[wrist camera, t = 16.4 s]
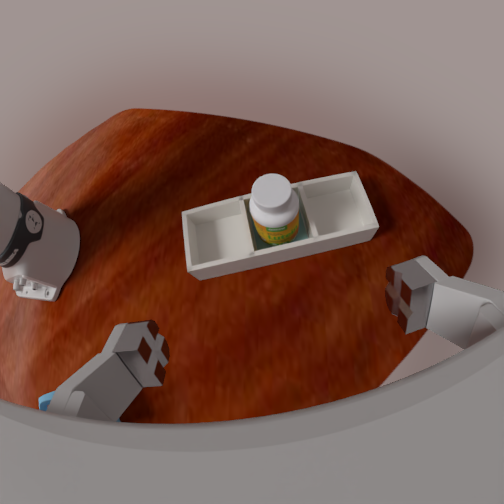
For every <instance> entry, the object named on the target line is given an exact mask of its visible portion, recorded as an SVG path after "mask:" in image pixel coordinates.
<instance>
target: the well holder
mask: <svg viewBox="0 0 504 504" xmlns="http://www.w3.org/2000/svg"><path fill="white" fill-rule="evenodd" d="M291 188H292V189H293V190H294V191H295V193H296V194H297V197H298V200H299V230H298V234H297V236H296V238H295V239H294V241H292V242H291V243H287V244H283V245H279V246H274V247H272V246H269V245H267V244H265V243H264V242H263V241H262V240H261V239H260V237H259V235H258V233H257V230H256V227H255V224H254V221H253V218H252V215H251V212H250V207H249V203H250V198H251V196H252V193H251V194H247V195H243V196H239V197H235V198H231V199H227V200H223V201H219V202H216V203H212V204H208V205H205V206H201V207H197V208H194V209H190V210H187V211H183V212H182V222H183V233H184V243H185V253H186V262H187V271H188V272H189V273H190V274H191V275H193V276H194V277H196V278H197V279H199V280H204V279H209V278H213V277H218V276H222V275H226V274H231V273H235V272H240V271H244V270H248V269H253V268H257V267H262V266H266V265H270V264H274V263H279V262H283V261H287V260H292V259H296V258H300V257H304V256H308V255H313V254H317V253H321V252H325V251H329V250H333V249H337V248H341V247H345V246H350V245H354V244H358V243H362V242H366V241H370V240H371V239H372V237H373V236H374V234H375V233H376V231H377V230H378V228H379V225H378V222H377V219H376V217H375V214H374V212H373V209H372V207H371V204H370V202H369V199H368V197H367V195H366V192H365V190H364V187H363V185H362V183H361V181H360V178H359V176H358V174H357V172H356V171H354V172H348V173H343V174H338V175H332V176H327V177H322V178H317V179H313V180H308V181H303V182H298V183H294V184H291Z"/></svg>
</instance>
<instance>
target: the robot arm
mask: <svg viewBox="0 0 504 504" xmlns="http://www.w3.org/2000/svg"><path fill="white" fill-rule="evenodd" d="M79 246H80V235H79V230H78V227H77V225H76V223H75V222H74V221H73V220H71V219H69V218H68V217H67V216H66V214H65V212H64V211H63V210H61V209H58V210H54V209H52V208H50V207H48V206H46V205H44V204H42V203H40V202H38V201H34V202H33V201H31V200H30V199H28V197H26V196H25V195H22V194H20V193H18V192H17V193H15V192H13V191H12V190H10V189H9V188H8V187H6V186H5V185H3V184H2V183H1V182H0V266H2V270H3V275H4V278H5V280H6V281H8V282H11V283H13V290H16V294H17V296H19V297H22V298H29V299H37V300H45V301H55V300H56V299H57V297H58V295H59V292H60V290H61V287H62V285H63V284H64V282H65V281H66V280H67V278H68V277H69V275H70V274H71V272H72V270H73V268H74V265H75V263H76V260H77V257H78V252H79ZM386 279H387V280H388V281H389V283H388V285H387V287H386V288H385V298H386V303H387V306H388V308H389V310H390V312H391V313H392V314H394V315H396V316H398V320H397V322H398V324H399V325H400V327H401V328H402V330H403V331H404V333H405V334H408V333H411V332H413V331H416V330H419V329H422V328H424V327H426V328H427V329H429V330H431V331H433V332H434V333H436V334H438V335H440V336H442V337H443V338H445V339H447V340H449V341H450V342H452V343H454V344H456V345H458V346H460V347H461V348H463V349H465V350H463V351H461V352H459V353H457V354H456V355H453V356H452V357H450V358H448V359H446V360H444V361H441V362H439V363H437V364H435V365H433V366H431V367H429V368H427V369H424V370H422V371H420V372H417V373H415V374H413V375H410V376H408V377H405V378H403V379H400V380H398V381H395V382H392V383H390V384H387V385H384V386H382V387H379V388H376V389H373V390H370V391H367V392H364V393H361V394H358V395H354V396H351V397H348V398H344V399H341V400H337V401H334V402H330V403H326V404H322V405H318V406H314V407H309V408H305V409H300V410H296V411H291V412H285V413H280V414H274V415H268V416H262V417H255V418H248V419H240V420H231V421H220V422H207V423H187V424H144V423H125V422H116V421H117V420H118V418H119V417H120V416H121V415H122V413H123V412H124V411H125V410H126V408H127V407H128V406H129V405H130V403H131V402H132V401H133V400H134V398H135V397H136V396H137V395H138V393H139V392H140V391H141V390H142V387H153V386H163V382H164V378H165V374H166V371H165V369H164V368H163V367H164V366H165V365H166V364H167V363H168V361H169V357H170V355H169V347H168V344H167V341H166V340H165V338H164V337H163V336H161V335H160V334H158V331H159V327H158V326H157V324H156V322H155V321H153V320H145V321H138V322H130V323H123V324H118V325H116V326H115V327H114V329H113V331H112V333H111V335H110V337H109V339H108V341H107V343H106V345H105V347H104V349H103V351H102V353H101V354H97V355H96V356H95V357H94V358H92V359H91V360H90V361H89V362H88V363H86V364H85V365H84V366H83V367H82V368H80V369H79V370H78V371H77V372H76V373H74V374H73V375H72V376H71V377H70V378H68V379H67V380H66V381H65V382H64V383H63V384H61V385H60V386H59V387H58V388H57V389H56V391H55V393H54V395H53V397H52V399H51V401H50V404H49V406H48V408H47V410H46V411H42V410H38V409H34V408H30V407H26V406H22V405H19V404H15V403H12V402H8V401H5V400H3V399H0V504H504V291H501V290H498V289H494V288H491V287H488V286H485V285H481V284H478V283H475V282H471V281H468V280H465V279H461V278H458V277H454V276H451V277H449V276H448V275H446V274H445V273H444V272H443V271H442V270H441V269H440V268H439V267H438V266H437V265H435V264H434V263H433V262H432V261H431V260H430V259H429V258H427V257H426V256H420V257H417V258H414V259H411V260H409V261H406V262H403V263H399V264H396V265H393V266H390V267H387V270H386Z"/></svg>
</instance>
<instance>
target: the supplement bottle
mask: <svg viewBox="0 0 504 504" xmlns="http://www.w3.org/2000/svg"><path fill="white" fill-rule="evenodd" d="M249 207H250V212H251V215H252V218H253V221H254V224H255V227H256V230H257V233H258V235H259V237H260V239H261V240H262V241H263V242H264V243H265V244H267V245H269V246H272V247H274V246H279V245H283V244H287V243H291V242H292V241H294V239H295V238H296V236H297V234H298V230H299V200H298V197H297V194H296V193H295V191H294V190H293V189H292V188H291V184H290V182H289V181H288V180H287V179H286V178H285V177H283V176H281V175H279V174H266V175H263V176H261V177H259V178H258V179H257V180H256V181H255V182H254V184H253V186H252V196H251V198H250V203H249Z"/></svg>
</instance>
